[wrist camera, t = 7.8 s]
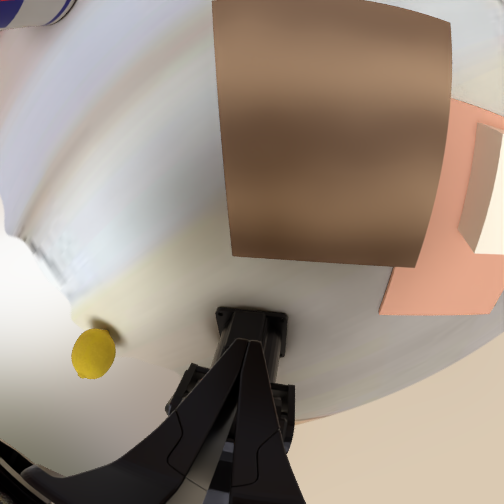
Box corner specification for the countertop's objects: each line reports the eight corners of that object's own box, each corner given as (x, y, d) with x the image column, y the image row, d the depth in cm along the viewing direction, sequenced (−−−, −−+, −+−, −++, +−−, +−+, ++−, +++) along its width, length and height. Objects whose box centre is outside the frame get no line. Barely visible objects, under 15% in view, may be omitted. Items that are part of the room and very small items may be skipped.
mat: (488, 311, 20) (489, 313, 20) (378, 311, 22) (379, 314, 22) (551, 140, 10) (553, 142, 10) (425, 91, 12) (427, 91, 12)
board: (399, 232, 18) (414, 267, 15) (245, 222, 20) (232, 256, 17) (420, 30, 10) (450, 22, 7) (232, 16, 12) (211, 0, 8)
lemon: (131, 346, 34) (107, 394, 27) (103, 340, 35) (79, 383, 29) (111, 318, 31) (81, 368, 24) (84, 314, 32) (54, 359, 26)
